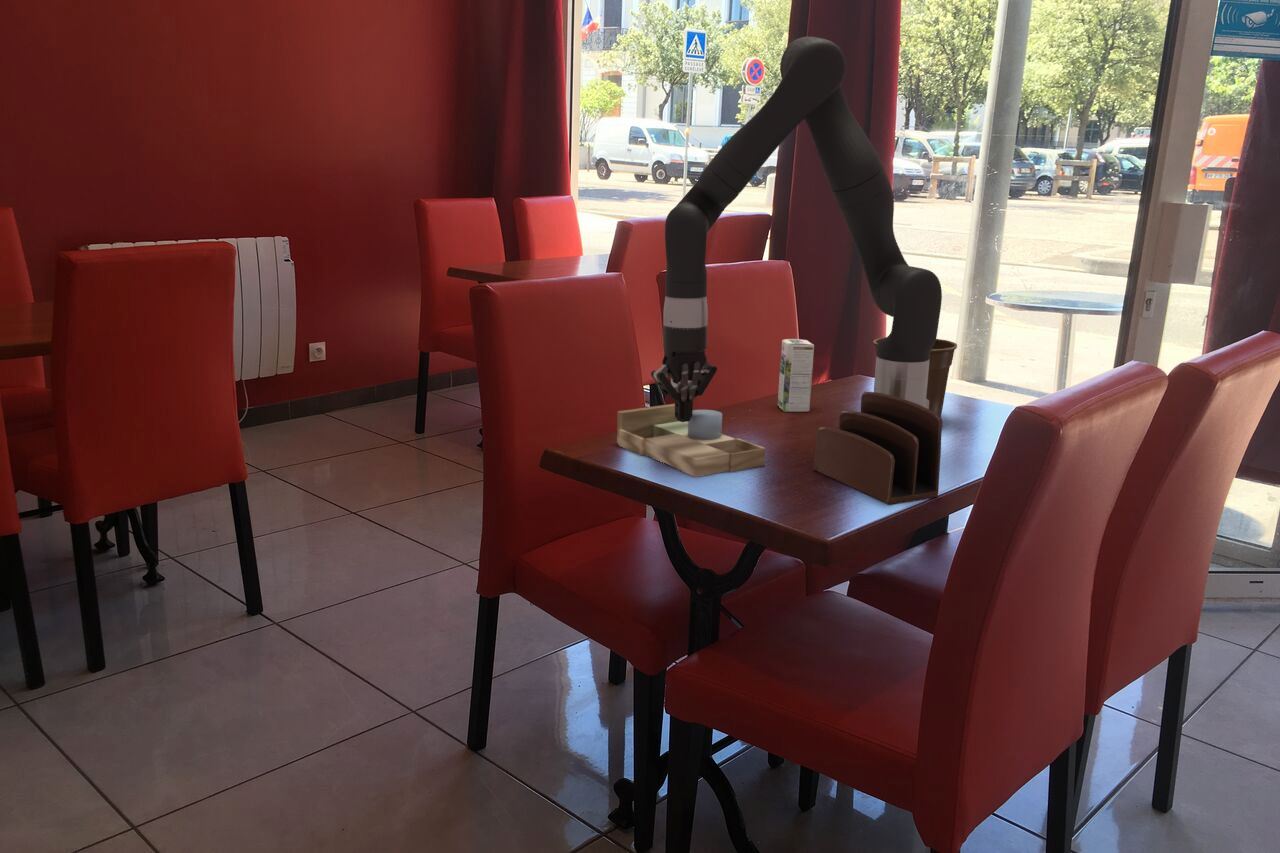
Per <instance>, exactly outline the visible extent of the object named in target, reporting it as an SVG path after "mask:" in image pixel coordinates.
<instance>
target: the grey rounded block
mask: <svg viewBox="0 0 1280 853" xmlns="http://www.w3.org/2000/svg"><path fill="white" fill-rule="evenodd" d="M687 422H688V436H689V437H691V438H695V439H701V440H712V439H718V438H720V437H721V434H722V433H723V432H722V428H723V427H722V426H723V413H722V412H720V411H717V410H713V409H693V411H692V417H691V418H690V421H687Z"/></svg>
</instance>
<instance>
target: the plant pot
mask: <svg viewBox="0 0 1280 853" xmlns="http://www.w3.org/2000/svg"><path fill="white" fill-rule="evenodd" d="M886 337H887V336H885V337H879V338H876V339H874V340H873V342H872V343H873V345H874V346H875V357H876V356H877V355H876V354H877V344H878V342H879V341H880V340H881V339H883V338H886ZM957 348H958V344H957V343H956V342H955V341H950V340H947V339H941V338H936V341H935V344H934V346H933V347H932V349H931V352H930V359H929V371H928V383H927V394H926V399H928V400H929V410H931V411H933V412H934V413H936V414H938V415H939V416H940V417H941V418H942V413H943V408H944V402H945V397H946V396H945V395H946V392H947V384H948V380H949V379H948V377H949V373H950V367H951V366H952V364H953V360H954V355H955V350H957Z"/></svg>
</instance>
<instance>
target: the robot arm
mask: <svg viewBox="0 0 1280 853" xmlns="http://www.w3.org/2000/svg"><path fill="white" fill-rule="evenodd" d="M846 63H847V61H846V57H845V55H844V52H843V51H842V49H841V47H839V45H837V44H836V43H834V42H833V41H831V40H828V39H825V38H821V37H817V36H803V37H799V38H797V39H794V40H792V41H791V42H789V44H788V45H787V47H785V50H784V51H783V53H782V55H781V58H780V64H779V65H780V66H779V68H780V69H779V70H780V71H779V72H780V77H781V80H780V82H779V84H778V85H777V87H776V89H775V90H774V91H773V93H772V94H771V96H770V97H769V98H768V99H767V101H766V102H765V104H763V105H762V107H761V108H759V110H758V111H757V112H756V113H755V114H754V115H753V116H752V117H751V118H750V119H749V120H748V121H747V122H746V123H744V125H743V126H741V127H740V128H739V129H738V130H737V131H736V132H735V133H734V134H733V135H732V136H731V137H730V138H729V139H728V140H727V141H726V142H725V143H724V144H723V145H722V147H721V148H720V149H719V150H718V151H717V153H716V154H715V155H714V156H713V158H712V159H711V161H709V163H708V164H707V165H706V167H705V168H704V169H703V171H702V172H701V174H700V176H699V177H698V179H697V181H696V182H695V183H694V185H693V186H692V187H691V188H690V189H689V191H688V192H686V194H684V196H683V197H682V198H681V199H680V201H679V202H678V203H677V204H676V205H675V206H674V208H672V209H671V210H670V211H669V212H668V214H667V216H666V218H665V223H664V242H665V243H664V244H665V248H664V249H665V256H666V258H665V259H666V269H665V284H664V286H665V287H664V288H665V296H664V305H663V324H662V326H663V329H662V334H663V335H662V337H663V338H662V348H663V350H664V356H663V358H662V360H661V361H662V362H661V363H662V365H661V366H659V368H658V369H657V370H652V371H651V372H650V377H652V380H654V382H655V384H656V385H657V386H658V387H659V389H660V390H661V392H662V393H663V394H664V396H665V397H667V398H669V399H673V400H674V404H675V418H677V420H678V421H680V422H688V421H690V418H691V417H692V411H693V410H694V408H693V407H694V406H693V405H694V404H693V403H694V402H693V401H694V400H695V398H696V397H701V396H703V394H704V393H705V391H706V390H707V387H708V386H709V384H710V382H711V381H712V379H713V378H714V376H715V374H716V372H717V371H718V367H717V366H715V365H713V364H711V363H709V361H707V359H708V358H707V355H706V352H705V351H707V347H708V317H709V316H708V315H709V314H708V312H709V311H708V310H709V309H708V301H707V295H708V294H707V292H708V289H707V288H708V272H707V266H706V256H707V240H708V239H707V238H708V232H710V230H711V228H712V227H713V226H714V224H715V223H716V221H717V220H718V219H719V218H720V216H721V215H722V213H723V212H724V211H725V210H726V208H727V207H728V206H729V205H731V203H733V201H734V200H735V199H736V198H738V196H740V194H741V193H742V191H743V190H744V189H745V188H746V187H747V185H748V184H749V183H750V182H751V180H752V179H753V178H754V177H755V176H756V175H757V173H758V171H759V170H760V169H761V168H762V166H763V165H764V164H765V163H766V162H767V161H768V159H769V158H770V156H772V154H773V153H774V152H775V151H776V150H777V149H778V147H779V146H780V145H781V144H782V143H783V142H784V140H785V139H786V138H787V137H789V135H790V134H791V133H792V132H793V131H794V130H795V128H797V127H798V125H800V124H801V123H802V122H803V121H805V124H806V125H807V128H808V130H809V132H810V135H811V137H812V141H813V143H814V147H815V149H816V153H817V156H818V158H819V162H820V164H821V167H822V169H823V172H824V176H825V178H826V181H827V183H828V187H829V189H830V190H831V193H832V195H833V197H834V200H835V202H836V204H837V207H838V209H839V211H840V213H841V215H842V218H843V219H844V222H845V224H846V226H847V229H848V231H849V234H850V236H851V238H852V242H853V243H854V246H855V247H856V249H857V252H858V254H859V257H860V260H861V264H862V266H863V270H864V274H865V276H866V277H865V278H866V280H867V283H868V287H869V290H870V293H871V296H872V298H873V301H874V303H875V305H876V306H877V309H879V310H880V311H881V312H882V313H883V314H885V315H887V316H890V317H893V319H892V325H891V331H890V332H889V335H887V336H885V337H886V338H884V337H882V338H883V339H881V340H880V341H879V342H878V344H877V354H876V353H875V369H874V371H875V372H874V381H873V383H874V385H873V392H876V393H882V394H887V395H891V396H895V397H899V398H902V399H905V400H908V401H911V402H913V403H916V404H919V405H921V406H923V407H925V408H927V409H929V400H928V399H926V394H927V383H928V371H929V359H930V352H931V349H932V347H933V346H934V344H935V341H936V339H937V338H938V336H937V335H938V330H939V322H940V316H941V310H942V299H943V296H942V295H943V292H942V286H941V281H940V279H939V277H938V276H937V275H936V273H934V272H933V271H931V270H929V269H926V268H924V267H923V268H922V267H917V266H911V265H909V264H908V263H907V261H906V259H905V258H904V255H903V253H902V251H901V249H900V246H899V244H898V243H897V239H896V237H895V232H894V212H895V199H894V191H893V188H892V185H891V182H890V180H889V177H888V175H887V171H886V170H885V167H884V165H883V162H882V159H881V158H880V156H879V155H878V152H877V151H876V149H875V147H874V145H873V143H872V142H871V141H870V140H869V137H868V136H867V134H866V133H865V131H864V130H863V128H862V127H861V125H860V124H859V122H858V120H856V118H855V116H854V114H853V113H852V111H851V109H850V107H849V104H848V102H847V99H846V97H845V94H844V91H843V88H842V84H843V83H842V82H843V81H844V78H845V75H846V72H847V71H846V70H847V64H846ZM876 355H877V356H876ZM669 378H670V380H669Z"/></svg>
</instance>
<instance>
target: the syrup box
mask: <svg viewBox="0 0 1280 853" xmlns="http://www.w3.org/2000/svg"><path fill="white" fill-rule="evenodd" d="M814 350H815V344H813V343H812V342H810V341H809V340H807V339H800V338H799V339H798V338H786V339H782V340H781V352H780V353H781V355H780V366H779V379H778V380H779V381H778V396H777V407H778V406H779V408H780V409H781V411H783V413H784V412H785V413H792V412H793V413H798V412H799V413H802V412H806V413H808V412H810V408H811V406H810V405H811V395H812V394H811V392H812V382H813V381H812V380H813V368H814V366H813V365H814V356H815V355H814V352H815V351H814Z"/></svg>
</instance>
